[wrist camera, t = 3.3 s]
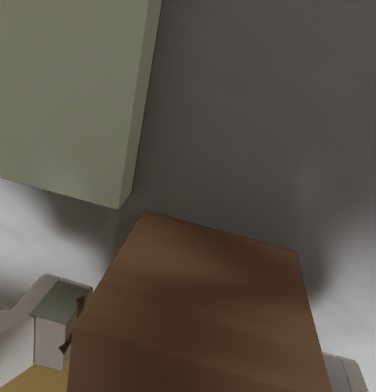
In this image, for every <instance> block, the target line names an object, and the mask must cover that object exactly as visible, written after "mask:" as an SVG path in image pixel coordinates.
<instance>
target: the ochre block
mask: <svg viewBox="0 0 376 392" xmlns="http://www.w3.org/2000/svg"><path fill="white" fill-rule="evenodd" d="M69 362H70V358H69V360H68V361H67V363H66V365H65V367H64V369H63V370H62V371H61V370H58V369H54V368H50V367H46V366H42V365H39V364H35V363H33V366H31V367H30V368H28V369H27V370H25V371H24V372H22V373H21V374H19V375H18V376H16V377H15V378H13V379H12V380H10V381H9V382H7V383H6V384H5V385H3V386H2V387H0V392H67V383H68V373H69Z"/></svg>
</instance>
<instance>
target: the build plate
mask: <svg viewBox="0 0 376 392" xmlns="http://www.w3.org/2000/svg"><path fill="white" fill-rule="evenodd" d="M161 5H162V0H0V178H3V179H7V180H10V181H14V182H18V183H21V184H25V185H28V186H32V187H36V188H39V189H43V190H47V191H50V192H54V193H58V194H61V195H65V196H69V197H72V198H76V199H80V200H83V201H87V202H91V203H94V204H98V205H102V206H105V207H109V208H112V209H116V210H118V209H119V208H120V207H121V205H122V204H123V203H124V202H125V200H126V199H127V198H128V196H129V195H130V194H131V190H132V184H133V178H134V172H135V165H136V159H137V153H138V147H139V141H140V134H141V128H142V122H143V116H144V110H145V104H146V97H147V91H148V85H149V79H150V73H151V66H152V60H153V54H154V48H155V42H156V35H157V29H158V23H159V17H160V11H161Z"/></svg>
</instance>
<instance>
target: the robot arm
mask: <svg viewBox="0 0 376 392" xmlns="http://www.w3.org/2000/svg"><path fill="white" fill-rule="evenodd" d="M92 294H93V288H92V287H90V286H87V285H84V284H81V283H77V282H74V281H71V280H68V279H65V278H60V277H57V276H54V275H51V274H47V273H46V274H44V275H42V276H41V277H40V278H39V279H38V280H37V281H36V282H35V284H34V285H33V286H32V287H31V288H30V289H29V290H28V291H27V293H26V294H25V295H24V296H23V297H22V298H21V299H20V300H19V301H18V303H17V304H16V305H15V306H14V307H13V308H12V309H11V310H8V309H4V310H2V311H0V387H2V386H3V385H5V384H6V383H7V382H9V381H10V380H12V379H13V378H15V377H16V376H18V375H19V374H21V373H22V372H24V371H25V370H27V369H28V368H30V367H31V366H33V363H35V364H39V365H42V366H46V367H50V368H54V369H58V370H61V371H62V370H63V369H64V367H65V365H66V363H67V361H68V360H69V358H70V351H71V341H72V330H73V325H74V324H75V322H76V320H77V319H78V317H79V315H80V314H81V312H82V310H83V309H84V307H85V306H86V304H87V302H88V301H89V299H90V297H91V296H92ZM322 354H323V358H324V362H325V366H326V369H327V373H328V377H329V381H330V385H331V388H332V392H369V391H368V389H367V386H366V384H365V381H364V378H363V376H362V373H361V371H360V368H359V365H358V364H357V362H356V361H355V360H351V359H347V358H344V357H340V356H336V355H333V354H329V353H325V352H322Z"/></svg>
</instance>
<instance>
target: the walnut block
mask: <svg viewBox="0 0 376 392" xmlns="http://www.w3.org/2000/svg"><path fill="white" fill-rule="evenodd" d="M67 392H332V388H331V385H330V381H329V377H328V373H327V369H326V366H325V362H324V358H323V354H322V351H321V347H320V343H319V339H318V336H317V332H316V328H315V324H314V321H313V317H312V313H311V309H310V305H309V302H308V298H307V294H306V290H305V287H304V283H303V279H302V275H301V272H300V268H299V264H298V260H297V256H296V253H295V251H291V250H288V249H284V248H280V247H277V246H273V245H269V244H266V243H262V242H258V241H255V240H251V239H247V238H244V237H240V236H236V235H233V234H229V233H225V232H222V231H218V230H214V229H211V228H207V227H204V226H200V225H196V224H193V223H189V222H185V221H182V220H178V219H174V218H171V217H167V216H163V215H160V214H156V213H152V212H149V211H145V210H144V211H143V213H142V214H141V216H140V218H139V219H138V221H137V222H136V224H135V226H134V227H133V229H132V231H131V232H130V234H129V236H128V237H127V239H126V240H125V242H124V244H123V245H122V247H121V249H120V250H119V252H118V253H117V255H116V257H115V258H114V260H113V262H112V263H111V265H110V266H109V268H108V270H107V271H106V273H105V275H104V276H103V278H102V280H101V281H100V283H99V284H98V286H97V288H96V289H95V291H94V293H93V294H92V296H91V297H90V299H89V301H88V302H87V304H86V306H85V307H84V309H83V310H82V312H81V314H80V315H79V317H78V319H77V320H76V322H75V324H74V325H73V330H72V341H71V351H70V362H69V373H68V383H67Z"/></svg>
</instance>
